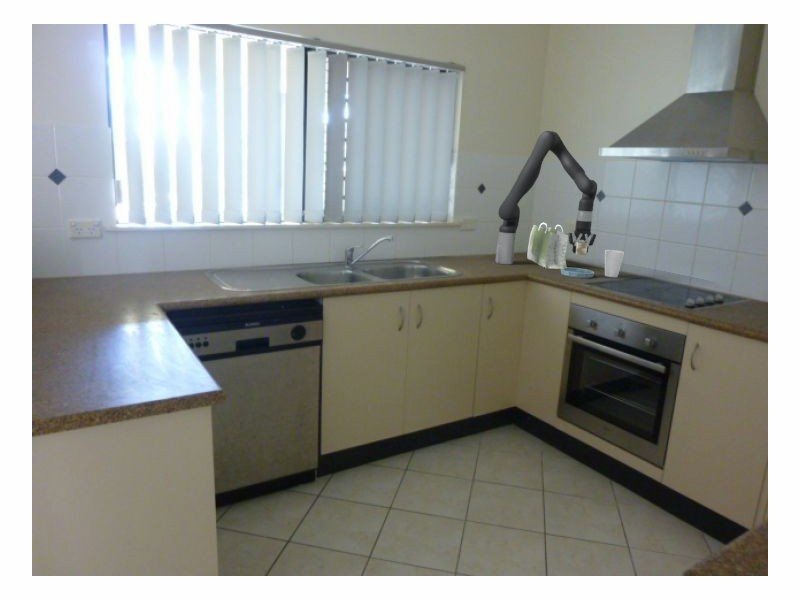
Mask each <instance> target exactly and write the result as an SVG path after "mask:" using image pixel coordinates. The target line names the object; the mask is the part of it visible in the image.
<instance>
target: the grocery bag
mask: <svg viewBox="0 0 800 600" xmlns="http://www.w3.org/2000/svg"><path fill="white" fill-rule="evenodd" d="M543 225H544V226H545V227H542V226H543ZM558 227H559V228H560V229H561V231H560V230H558V229H557V228H558ZM568 241H569V235H568V234H567V233H565V232H564V229H563V226H562V225H561V224H556V225H555V227H550V226H548V224H547V223H546V222H542V223H540V224H539V225H536V224H533V226H532V229H531V231H530V234H529V239H528V246H527V254H526V257H527V258H526V259H527V260H530V261H532V262H534V263H535V264H536V265H539V266H540V267H543V268H544V267H545V269H557V270H558V269H559V270H561V269H562V268H568V267H567V260H566V254H567V251H568V250H567V249H568V244H569V242H568Z"/></svg>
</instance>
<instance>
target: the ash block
mask: <svg viewBox="0 0 800 600" xmlns="http://www.w3.org/2000/svg"><path fill="white" fill-rule="evenodd" d="M587 245H588V243H585V242H584V241H579V242H578V243H577V245H576V253H573V254H574V255H577V256H586V255H587V254H588V253H587ZM586 253H587V254H586Z"/></svg>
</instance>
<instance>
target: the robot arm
mask: <svg viewBox="0 0 800 600" xmlns="http://www.w3.org/2000/svg"><path fill="white" fill-rule="evenodd" d="M549 151H550V152H552V154H554V155H555V156H556V158H557V159H558V161H559V162H560V164H561V167H562V168H563V169H564V171H565V172H566V174H568V177H570V178H571V180H572V181H573V182H574V184H575V186H576V187H577V189H578V190H579V191H580V192H581V193H582V196H581V199H579V202H578V209H577V214H576V220H575V229H574V231H572V232H568V234H567V235H569V237H568V241H569V242H568V244H570V245H571V246H572V250H571V251H572V252H573V254H574V253H576V245H577V243H578V242H580V241H582V240H583V242H585V243H588V245H587V253H586V255H587V254H588V252H589V247H592V246H593V245H594V242H595V240H596V237H597V234H595V233H592V232H591V231H592V224H593V217H594V216H593V211H594V202H595V199H596V195H597V192H598V183H597V182H596V181H595V180H594V179H590V178H589V177H588V175H587V174H586V171H585V169H584V168H583V167H582V166H581V164H579V162H578V161H577V160H576V159H575V157H573V155H572V154H571V153H570V152H569V150H568V148H567V147H566V146H565V144H564V142H563V140H562V138H561V137H560V135H559V133H557V132H556V131H553V130H552V131H551V130H544V131H543V132H541V133H540V135H539V136H538V137H537V140H536V142H535V144H534V147H533V149H532V151H531V154H530V155H529V156H528V158H527V160H526V162H525V164H524V166H523V167H522V169H521V171H519V175H518V176H517V178H516V180H515V182H514V183H513V186H512V187H511V189H510V191H509V193H508V194H507V196H506V197H505V199H504V200H503V202H502V203H501V205H500V206H499V208H498V213H497V214H498V216H499V218H500V219H501V220H503V222H502V224H501V225H500V226H499V228H498V230H499V231H498V237H497V238H498V239H497V244H496V249H495V263H496V264H500V265H513V264H514V254H515V243H516V235H517V230H518V227H519V222H520V215H521V210H520V209H521V208H520V206H519V205H518V204H519V202H520V201H521V199H522V198H523V197H524V196H525V195H526V194H527V193H529V191H530V190H531V189H532V188H533V186H534V185H535V183H536V181H537V180H538V178H539V176H540V173H541V170H542V165H543V161H544V159H545V157H546V156H547V154H548V153H549ZM574 236H575V237H574ZM589 238H590V240H589Z"/></svg>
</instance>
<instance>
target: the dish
mask: <svg viewBox="0 0 800 600" xmlns="http://www.w3.org/2000/svg"><path fill="white" fill-rule="evenodd" d="M560 274H561V275H562V276H565V277H570V278H577V279H592V278H593V277H594V274H595V272H594V271H593V270H591V269H586V268H579V267H567V268H562V269H560Z"/></svg>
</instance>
